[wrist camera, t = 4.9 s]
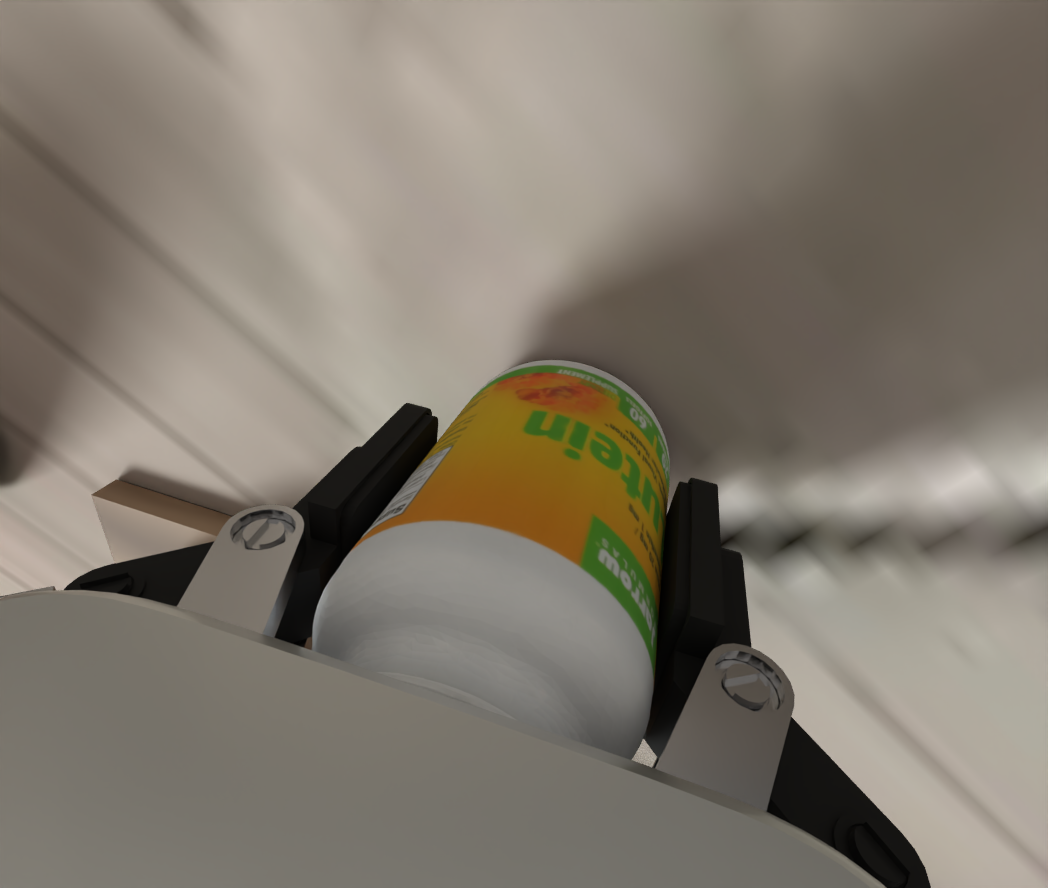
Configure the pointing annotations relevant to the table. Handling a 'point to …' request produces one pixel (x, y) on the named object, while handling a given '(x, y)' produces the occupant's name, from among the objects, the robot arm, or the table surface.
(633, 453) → the supplement bottle
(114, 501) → the carrier plate
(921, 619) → the table surface
